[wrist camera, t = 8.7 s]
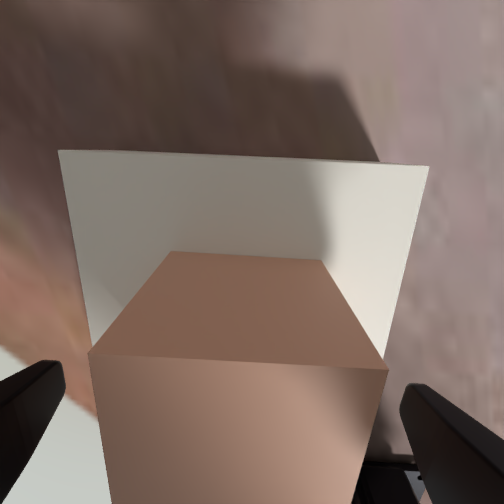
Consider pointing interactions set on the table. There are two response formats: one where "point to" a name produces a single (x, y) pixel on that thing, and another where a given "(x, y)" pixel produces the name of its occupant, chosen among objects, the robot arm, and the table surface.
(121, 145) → the table surface
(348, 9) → the table surface
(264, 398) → the terracotta block
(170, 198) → the cream box
